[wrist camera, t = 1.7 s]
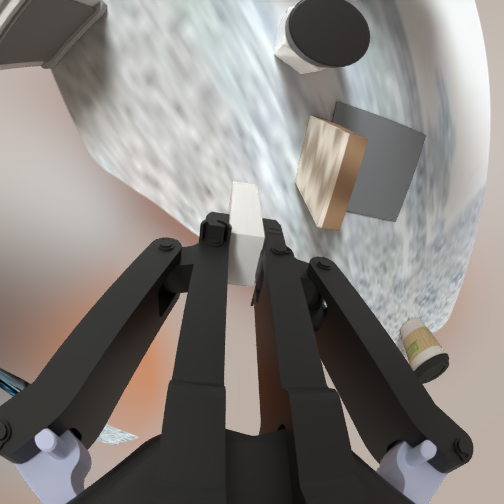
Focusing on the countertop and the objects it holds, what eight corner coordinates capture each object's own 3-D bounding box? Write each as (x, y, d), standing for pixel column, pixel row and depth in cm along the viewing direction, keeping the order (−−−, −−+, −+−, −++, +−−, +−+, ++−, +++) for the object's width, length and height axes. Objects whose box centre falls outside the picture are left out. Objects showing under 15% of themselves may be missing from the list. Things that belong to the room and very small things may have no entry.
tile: (310, 115, 34) (344, 132, 23) (327, 119, 35) (368, 139, 23) (294, 181, 40) (317, 226, 28) (310, 184, 40) (339, 230, 28)
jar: (329, 80, 31) (365, 80, 21) (270, 69, 31) (282, 60, 21) (338, 24, 27) (375, 5, 17) (278, 11, 26) (294, -18, 16)
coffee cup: (387, 332, 61) (407, 382, 48) (417, 307, 56) (443, 355, 44) (404, 342, 64) (424, 387, 52) (432, 319, 60) (456, 364, 47)
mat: (336, 101, 33) (337, 101, 33) (424, 134, 35) (425, 135, 35) (310, 203, 42) (310, 204, 41) (394, 220, 44) (395, 221, 43)
